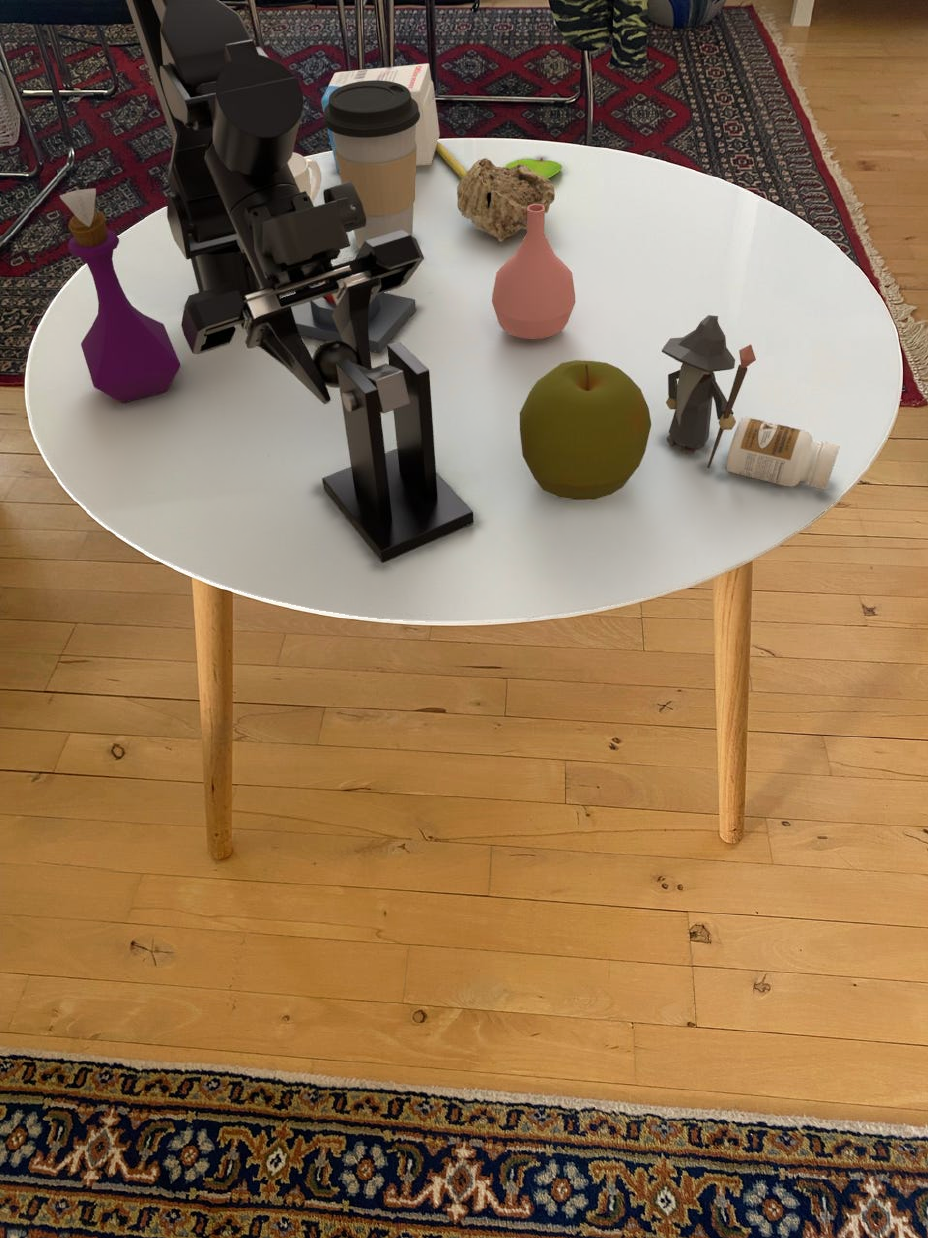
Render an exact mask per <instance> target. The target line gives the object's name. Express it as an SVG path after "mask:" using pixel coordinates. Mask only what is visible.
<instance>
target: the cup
mask: <svg viewBox="0 0 928 1238" xmlns="http://www.w3.org/2000/svg"><path fill="white" fill-rule="evenodd" d="M288 165H289V168H290V170H291V172H292V175H293V177H294V179H295V181H296V184H297V186H298V188H299V190H300V192H304V191H306V193H307V195H308V196H309V197H310V199H311V201H312V203H313V204H314V201H315V199H316V198H317V195H318V193H319V191H320V188H321V184H322V171H321V168H320V165H319V163H318V162H317V161H316V160H314V159H313V158H308V157H307V158H306V157H305V156H303V155H302V154H299V153H297V152H295V151H293V153H292V157H291V159H290V160H289V161H288ZM310 172H311V175H310Z"/></svg>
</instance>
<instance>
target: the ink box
mask: <svg viewBox="0 0 928 1238" xmlns="http://www.w3.org/2000/svg"><path fill="white" fill-rule="evenodd" d="M431 75H432V74H431V68H430V63H420V64H419V63H418V64H409V65H408V64H407V65H399V66H397V65H396V66H388V67H376V68H367V69H358V70H356V69H355V70H348V71H338V72H334V74H333V76H332V78H331V80H330V82H329V84H328V86H327V88H326V90H325V91H324V94H323V95H322V97H321V99H320V102H321V103H320V104H321V107H322V112H323V113H324V109H325V107H326V106H327V105H328V104H329V96H330V94H331V93H332V92H333V91H334V90H336V89H337V88H339V87H342V86H344V85H347V84H351V83H355V82H360V81H371V80H380V81H390V82H395V83H398V84H401V85H403V86H405V87H406V88H408V89H409V91H410V93H411V98H412V99H414V100H415V101H416V102H417V104H418V110H419V112H420V119H419V120H418V122H417V123H416V138H415V142H416V145H417V156H416V167H418V166H419V167H420V166H430V165H432V163H433V159H434V156H435V153H436V150H435V149H436V146H437V142H439V139H440V126H439V118H438V110H437V109H438V108H437V103H436V93H435V87H434V82H433V80H432V76H431ZM327 133H328V137H329V142H330V147H331V150H332V151H331V152H332V155H333V159H334V163H335V167H336V168H335V169H336V172H337V173H338V174H340V173H339V168H338V164H337V159H336V155H335V148H334V147H335V143H334V138H333V134H332V131H330V130H329V129H327ZM437 140H438V141H437Z"/></svg>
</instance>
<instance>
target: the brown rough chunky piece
mask: <svg viewBox="0 0 928 1238" xmlns="http://www.w3.org/2000/svg"><path fill="white" fill-rule="evenodd" d="M466 171H467V173H466V174H465V176H464V177H463V178H462V179H461V178H460V181H459V183H458V185H457V187H456V189H457V190H456V195H457V196H456V197H457V205H456V207H457V209H458V211H460V212H461V216H462V217H464V218H466V219H467V220H470V221H471V223H472V225H474V226H475V227H476V229H478V230H479V231H482V232H484V233H487V234H488V235H490V236H493V237H494V238H495V239H497V241H498V242H503V241H504V240H505V239H507V238H511V237H512V236H514V235H516V234H518V232H519V231H520V230H522V229H523V230H527V207H528V206H529V205H531V204H541V205H543V206H544V207H545V214H547V213H548V212H549V210H550V206H551V204H552V203H554V201H555V197H556V194H555V187H554V185H553V183H552V182H551V180H550V178H548V179H547V178H545V177H543V176H542V175H537V174H536V173H535V172H533V171H532V170H531V169H530V168H528V167H527V166H525V165H524V164H518V165H517V166H514V167H512V168H509V167H505V166H504V167H503V166H502V167H501V166H496V165H495V164H494V163H493V162H492V161H491V160H490V159H489V158H488V157H485V158H482V159H478V160H477V161H476V162H474V163H473V164H472V166H471V167H470V169H468V170H466Z"/></svg>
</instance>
